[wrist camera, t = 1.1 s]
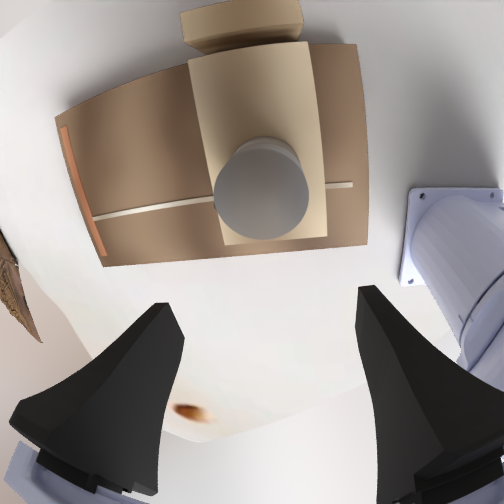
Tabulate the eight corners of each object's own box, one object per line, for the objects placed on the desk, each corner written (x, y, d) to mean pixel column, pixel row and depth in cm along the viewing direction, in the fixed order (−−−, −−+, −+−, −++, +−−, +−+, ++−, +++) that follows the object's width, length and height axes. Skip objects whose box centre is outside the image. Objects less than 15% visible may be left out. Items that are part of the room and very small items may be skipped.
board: (347, 50, 12) (356, 44, 10) (359, 230, 18) (367, 245, 16) (71, 113, 15) (53, 117, 13) (114, 253, 21) (102, 267, 19)
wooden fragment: (-37, 179, 19) (-42, 183, 18) (0, 176, 18) (-7, 180, 17) (16, 328, 32) (13, 332, 31) (60, 348, 32) (57, 353, 31)
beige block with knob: (292, 19, 11) (303, -44, 4) (316, 203, 17) (340, 281, 10) (194, 35, 12) (128, -6, 5) (227, 212, 18) (194, 291, 11)
